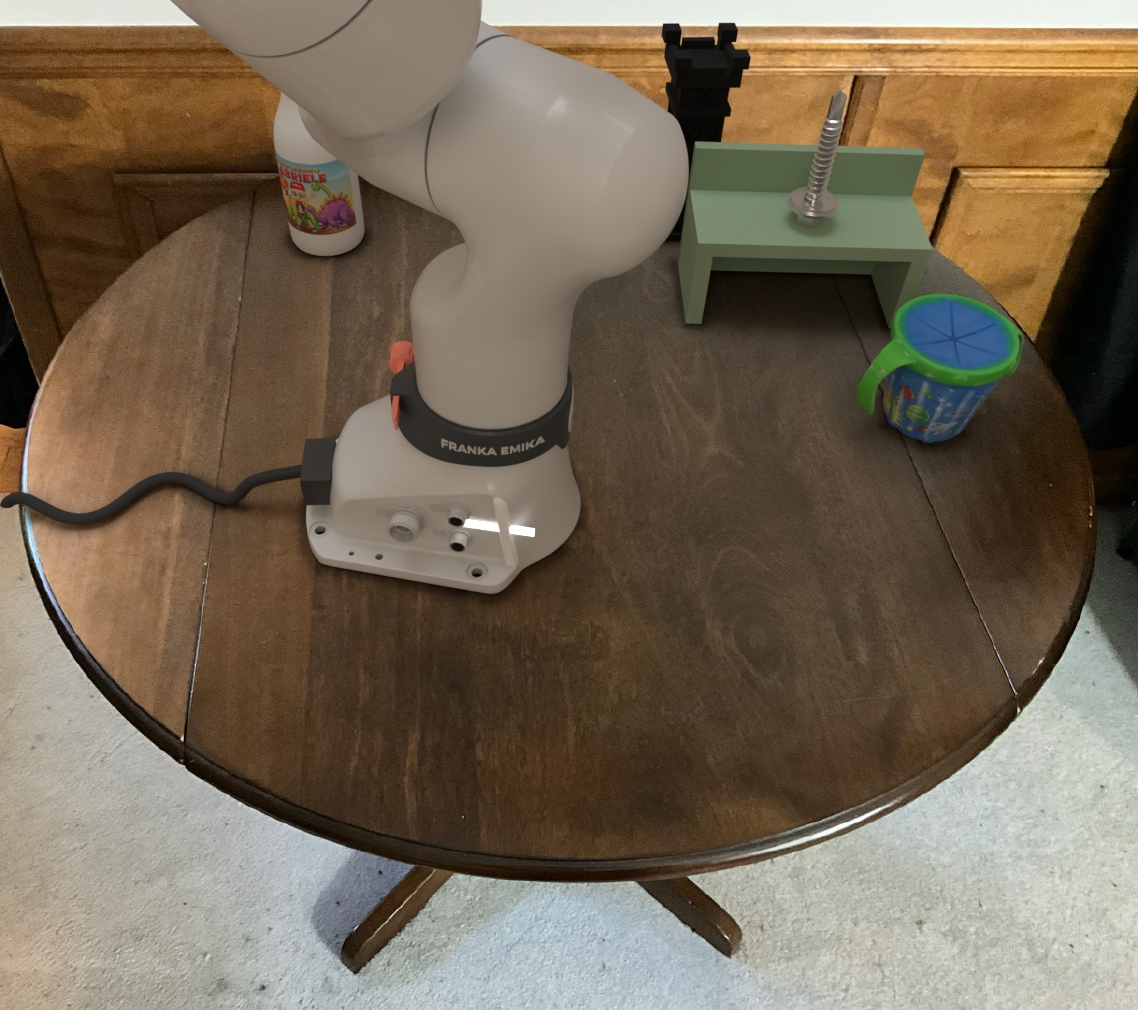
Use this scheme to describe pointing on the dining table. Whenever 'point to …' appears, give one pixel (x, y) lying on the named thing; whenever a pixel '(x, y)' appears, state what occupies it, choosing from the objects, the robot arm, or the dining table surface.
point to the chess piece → (701, 87)
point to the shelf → (778, 244)
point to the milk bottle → (315, 188)
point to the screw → (820, 171)
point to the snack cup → (940, 364)
